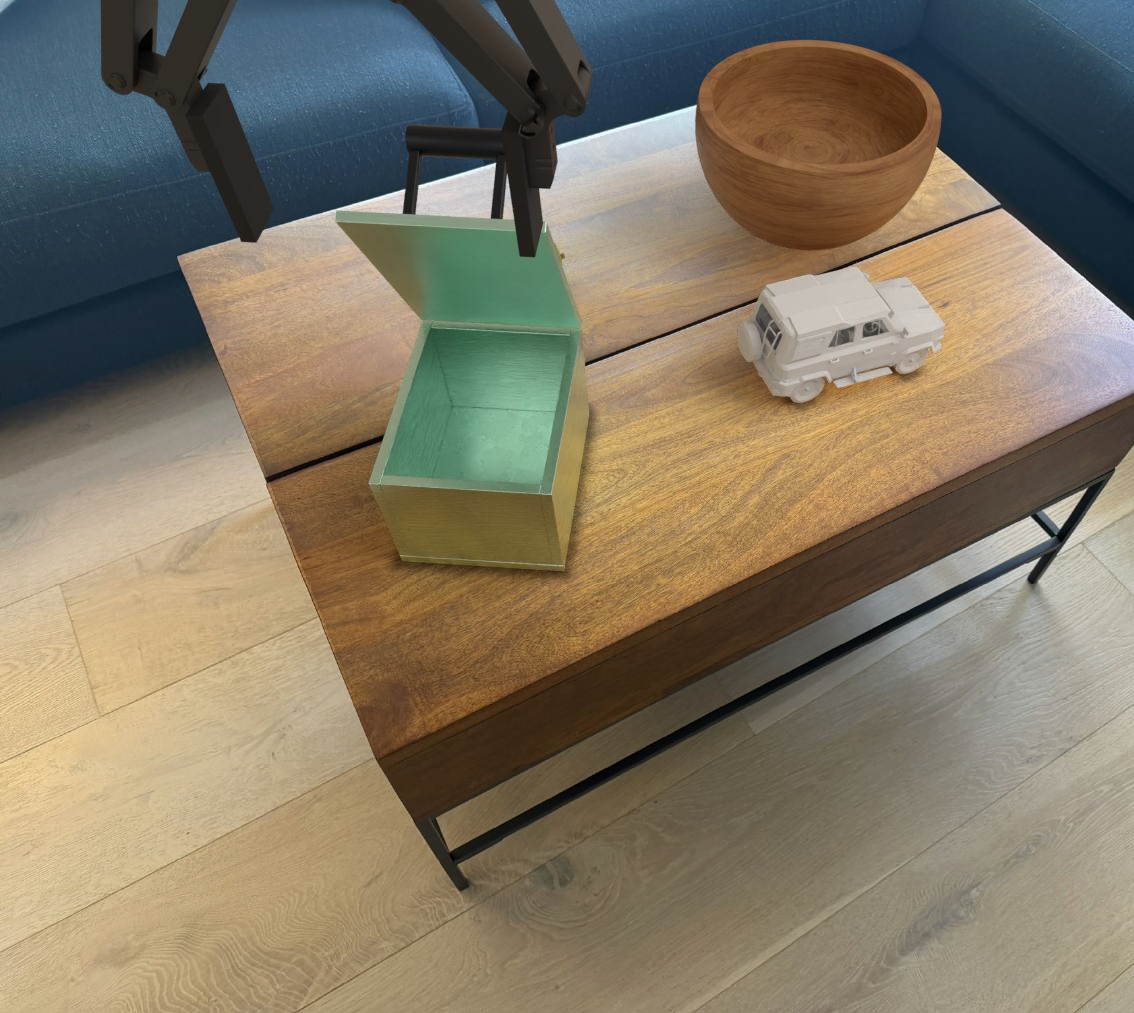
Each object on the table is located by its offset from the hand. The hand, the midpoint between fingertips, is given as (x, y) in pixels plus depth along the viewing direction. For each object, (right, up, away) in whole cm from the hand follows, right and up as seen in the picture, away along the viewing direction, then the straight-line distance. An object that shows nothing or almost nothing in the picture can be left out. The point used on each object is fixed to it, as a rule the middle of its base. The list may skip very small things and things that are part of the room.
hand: (394, 233), depth 44 cm
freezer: (-2, -11, +36) cm, 38 cm away
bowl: (+28, +19, +59) cm, 68 cm away
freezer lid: (-1, +3, +23) cm, 23 cm away
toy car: (+30, +1, +46) cm, 55 cm away
